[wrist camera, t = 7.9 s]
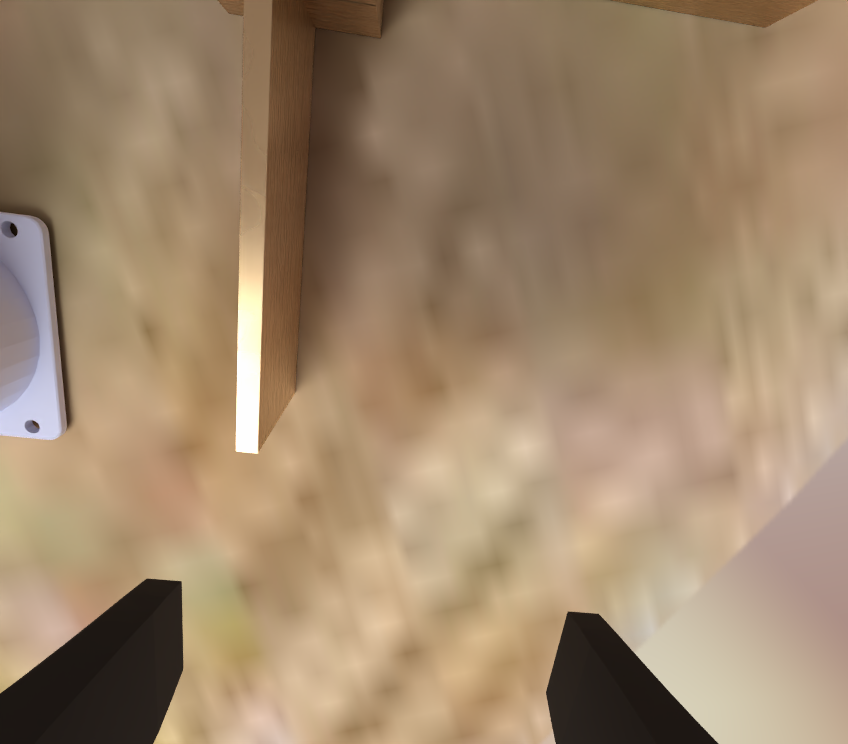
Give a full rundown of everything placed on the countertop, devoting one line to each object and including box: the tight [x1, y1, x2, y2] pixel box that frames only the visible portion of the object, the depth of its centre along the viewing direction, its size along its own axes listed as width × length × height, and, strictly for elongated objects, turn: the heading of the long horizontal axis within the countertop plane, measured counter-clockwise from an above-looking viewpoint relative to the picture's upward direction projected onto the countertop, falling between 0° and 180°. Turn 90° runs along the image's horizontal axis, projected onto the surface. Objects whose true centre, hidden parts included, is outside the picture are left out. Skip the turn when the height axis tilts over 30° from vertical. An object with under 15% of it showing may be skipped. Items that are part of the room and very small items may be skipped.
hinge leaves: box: [218, 0, 817, 453], centre depth 14 cm, size 17×17×5 cm
